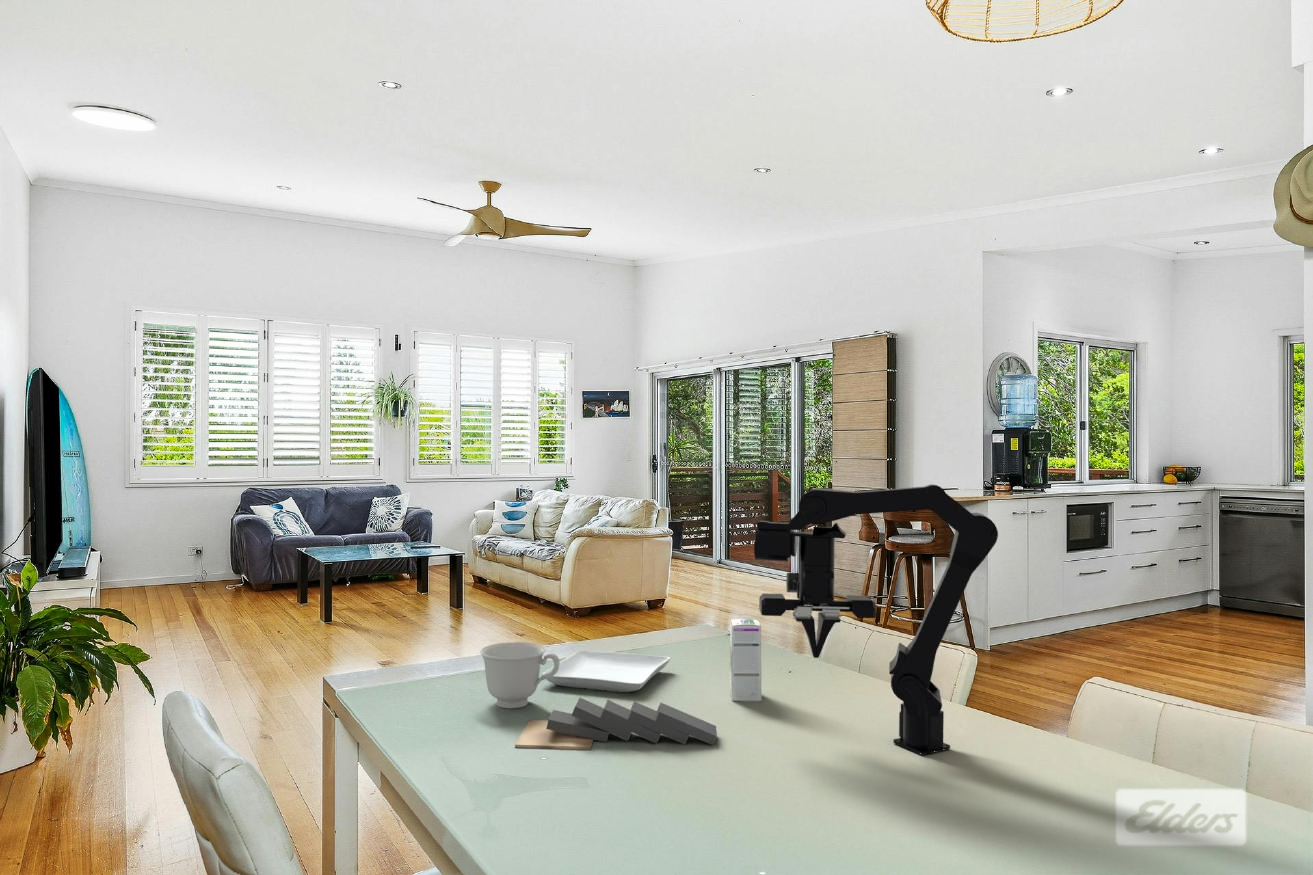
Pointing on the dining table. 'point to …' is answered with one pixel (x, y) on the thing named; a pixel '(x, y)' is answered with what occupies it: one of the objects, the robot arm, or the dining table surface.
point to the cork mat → (550, 738)
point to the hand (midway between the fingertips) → (815, 657)
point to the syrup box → (745, 660)
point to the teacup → (515, 671)
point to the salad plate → (607, 670)
